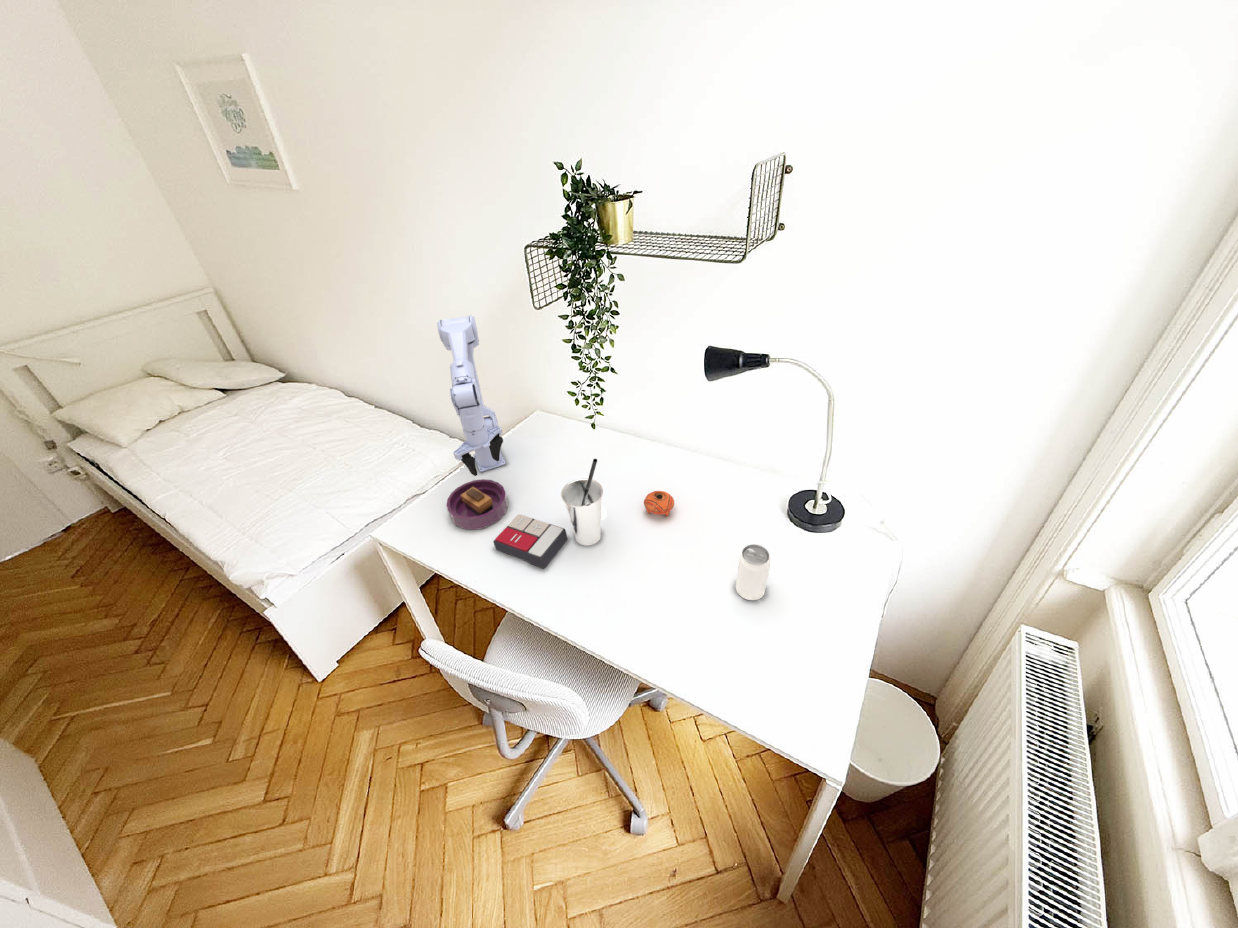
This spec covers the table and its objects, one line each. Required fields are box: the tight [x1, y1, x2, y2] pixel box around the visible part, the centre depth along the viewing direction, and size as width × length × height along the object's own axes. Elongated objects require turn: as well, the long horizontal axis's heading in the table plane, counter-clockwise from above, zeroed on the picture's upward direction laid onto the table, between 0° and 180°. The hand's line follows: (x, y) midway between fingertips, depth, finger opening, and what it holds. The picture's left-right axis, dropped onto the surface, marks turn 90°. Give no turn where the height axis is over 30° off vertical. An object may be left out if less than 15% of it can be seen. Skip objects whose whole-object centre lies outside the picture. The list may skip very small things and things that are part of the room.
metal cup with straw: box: [560, 458, 604, 547], centre depth 125 cm, size 11×11×30 cm
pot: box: [643, 490, 675, 517], centre depth 139 cm, size 8×8×7 cm
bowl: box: [446, 478, 509, 530], centre depth 144 cm, size 16×16×4 cm
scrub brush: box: [460, 487, 493, 516], centre depth 143 cm, size 8×4×6 cm, turn 50°
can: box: [735, 543, 771, 601], centre depth 115 cm, size 6×6×12 cm
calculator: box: [492, 513, 568, 569], centre depth 133 cm, size 11×4×15 cm
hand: (485, 466), depth 144 cm, fingers open, 7 cm apart
